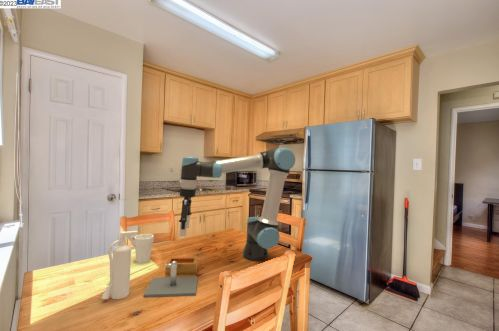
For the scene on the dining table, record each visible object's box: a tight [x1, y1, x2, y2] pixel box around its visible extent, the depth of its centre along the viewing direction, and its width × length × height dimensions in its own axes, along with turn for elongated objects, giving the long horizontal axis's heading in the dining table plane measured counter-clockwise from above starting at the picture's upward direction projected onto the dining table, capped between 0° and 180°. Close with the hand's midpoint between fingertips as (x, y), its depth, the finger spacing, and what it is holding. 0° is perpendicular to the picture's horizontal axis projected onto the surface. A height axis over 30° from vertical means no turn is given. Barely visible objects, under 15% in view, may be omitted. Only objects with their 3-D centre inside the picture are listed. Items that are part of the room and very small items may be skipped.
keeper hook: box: [164, 261, 177, 286], centre depth 100 cm, size 5×2×10 cm, turn 99°
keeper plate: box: [143, 275, 199, 298], centre depth 101 cm, size 20×14×1 cm
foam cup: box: [133, 233, 155, 264], centre depth 125 cm, size 10×9×13 cm
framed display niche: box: [164, 256, 199, 277], centre depth 114 cm, size 14×8×6 cm, turn 99°
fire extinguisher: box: [101, 230, 139, 300], centre depth 92 cm, size 7×12×25 cm, turn 144°
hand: (184, 231), depth 114 cm, fingers open, 13 cm apart
